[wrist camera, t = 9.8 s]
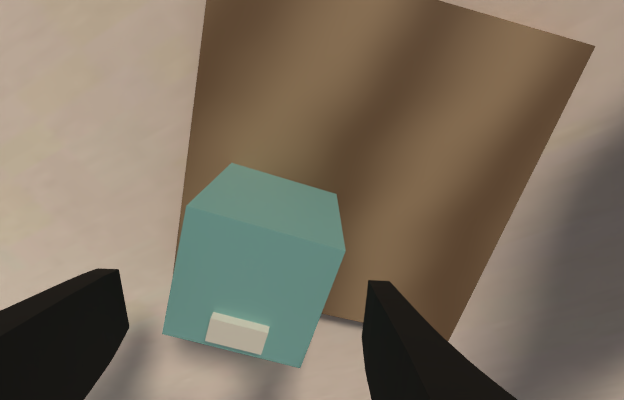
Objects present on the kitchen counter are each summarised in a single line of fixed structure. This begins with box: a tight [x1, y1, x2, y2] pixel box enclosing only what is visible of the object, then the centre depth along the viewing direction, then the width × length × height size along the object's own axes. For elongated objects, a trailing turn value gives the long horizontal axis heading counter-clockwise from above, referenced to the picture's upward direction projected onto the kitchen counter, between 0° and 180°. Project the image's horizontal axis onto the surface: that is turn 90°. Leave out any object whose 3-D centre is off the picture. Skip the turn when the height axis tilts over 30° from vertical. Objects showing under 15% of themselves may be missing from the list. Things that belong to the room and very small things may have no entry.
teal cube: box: [162, 163, 346, 368], centre depth 12 cm, size 5×5×5 cm
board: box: [173, 0, 595, 341], centre depth 13 cm, size 14×14×4 cm
